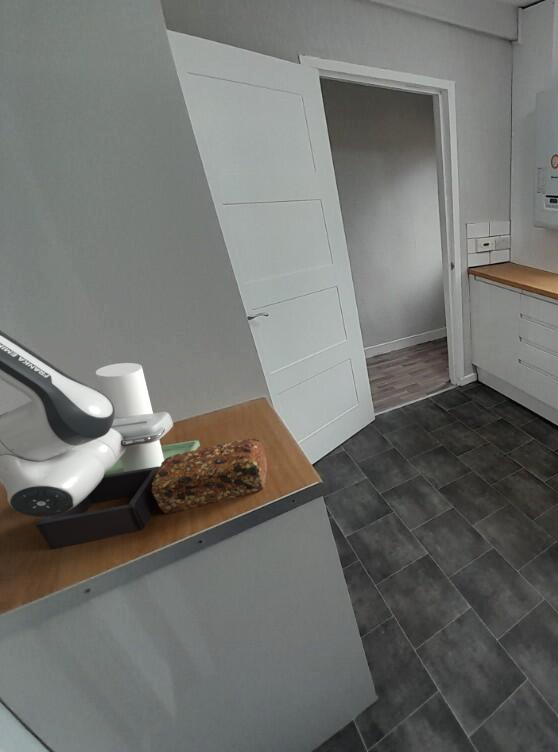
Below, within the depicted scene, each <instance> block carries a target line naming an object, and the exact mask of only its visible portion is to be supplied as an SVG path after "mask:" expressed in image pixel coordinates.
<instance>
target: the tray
mask: <svg viewBox="0 0 558 752" xmlns="http://www.w3.org/2000/svg"><path fill="white" fill-rule="evenodd" d="M200 446H201V444H200V441H199V440H198V439H197V440H196V439H195V440H190V441H184V442H183V441H182V442H177V443H170V444H163V445H161V449H162V453H163V457H164V460H165V459H167V458H168V457H170V456H173V455H177V454H180V453H184V452H189V451H193V450H198V449H199V448H200ZM121 472H124V470H123V466H122V463H121V459H119V460H118V461H117V462H116V463H115V465H114V466H113V467H112V468H111V469H110V470H109V471H108V472H107V473H105V474H104V475H109V474H115V473H121Z"/></svg>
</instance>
